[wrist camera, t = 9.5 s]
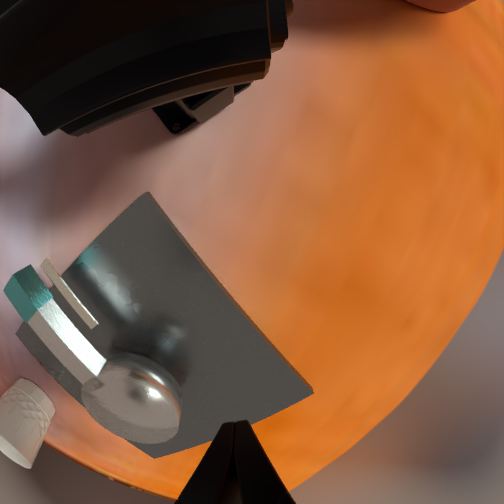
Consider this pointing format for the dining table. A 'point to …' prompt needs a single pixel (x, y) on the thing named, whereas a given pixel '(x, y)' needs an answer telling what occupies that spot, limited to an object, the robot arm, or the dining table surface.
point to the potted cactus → (441, 4)
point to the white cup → (24, 421)
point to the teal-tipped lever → (102, 369)
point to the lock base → (169, 326)
